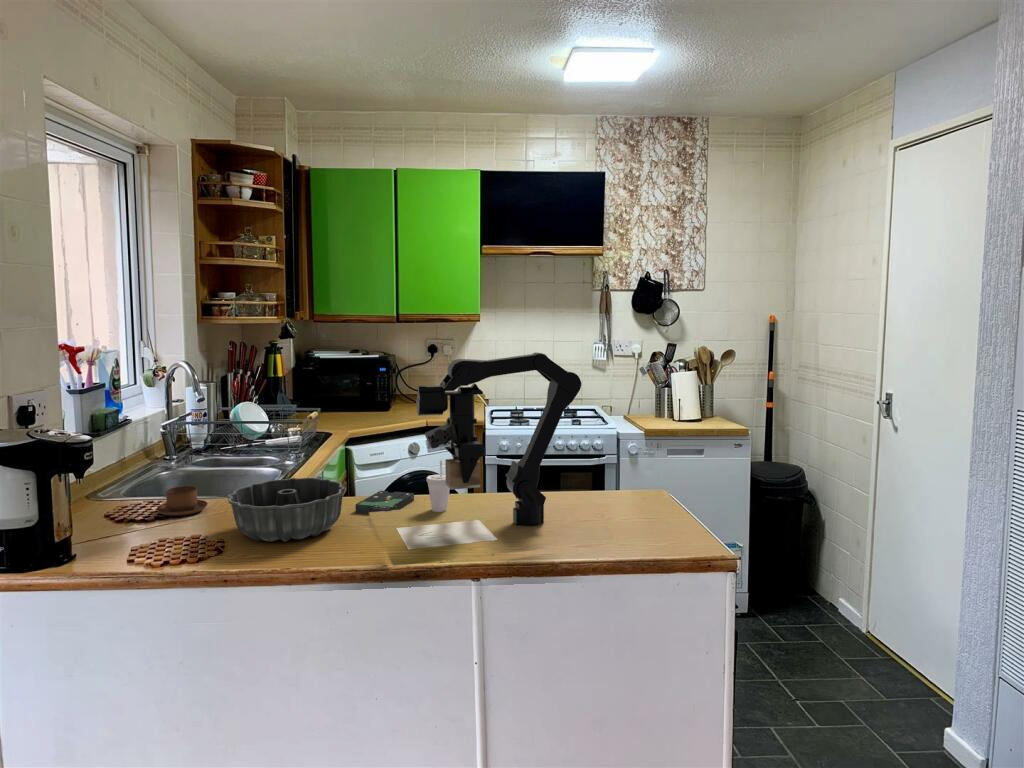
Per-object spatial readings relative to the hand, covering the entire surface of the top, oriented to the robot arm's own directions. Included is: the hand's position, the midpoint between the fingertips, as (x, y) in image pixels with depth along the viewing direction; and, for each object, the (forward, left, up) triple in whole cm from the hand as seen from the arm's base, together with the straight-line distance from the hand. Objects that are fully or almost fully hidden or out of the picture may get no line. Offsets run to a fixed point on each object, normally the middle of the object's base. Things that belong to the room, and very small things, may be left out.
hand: (462, 480), depth 172 cm
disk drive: (+14, -29, -13) cm, 35 cm away
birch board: (+5, +3, -12) cm, 14 cm away
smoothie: (+2, -17, -13) cm, 21 cm away
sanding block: (0, 0, -1) cm, 1 cm away
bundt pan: (+39, -15, -13) cm, 44 cm away
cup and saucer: (+65, -41, -13) cm, 78 cm away
